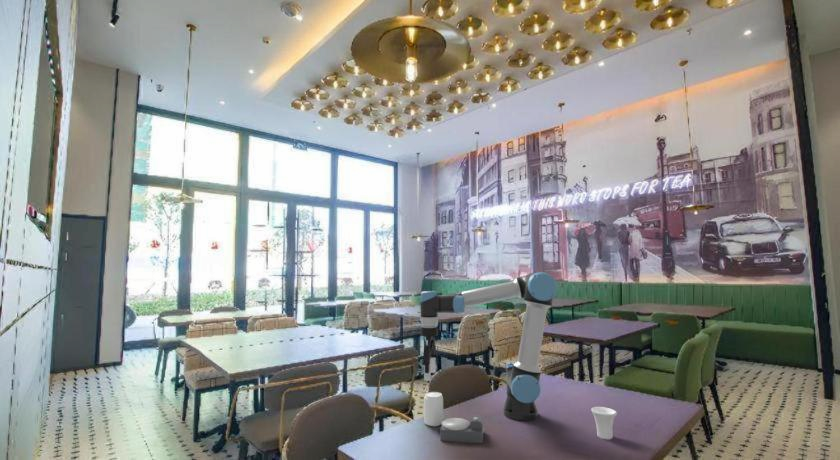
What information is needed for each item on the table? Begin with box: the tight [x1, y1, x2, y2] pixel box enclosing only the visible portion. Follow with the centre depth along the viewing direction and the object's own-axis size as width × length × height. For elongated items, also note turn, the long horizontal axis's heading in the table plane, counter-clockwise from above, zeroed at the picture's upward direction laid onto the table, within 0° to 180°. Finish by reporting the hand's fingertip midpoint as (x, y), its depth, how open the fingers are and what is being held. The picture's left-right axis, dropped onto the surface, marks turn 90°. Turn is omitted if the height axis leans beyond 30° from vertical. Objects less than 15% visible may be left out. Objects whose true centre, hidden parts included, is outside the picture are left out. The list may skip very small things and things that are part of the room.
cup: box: [591, 406, 618, 440], centre depth 153 cm, size 9×9×10 cm
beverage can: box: [423, 391, 444, 427], centre depth 168 cm, size 8×8×12 cm
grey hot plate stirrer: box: [439, 414, 484, 444], centre depth 155 cm, size 16×11×8 cm
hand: (430, 376), depth 170 cm, fingers open, 13 cm apart
